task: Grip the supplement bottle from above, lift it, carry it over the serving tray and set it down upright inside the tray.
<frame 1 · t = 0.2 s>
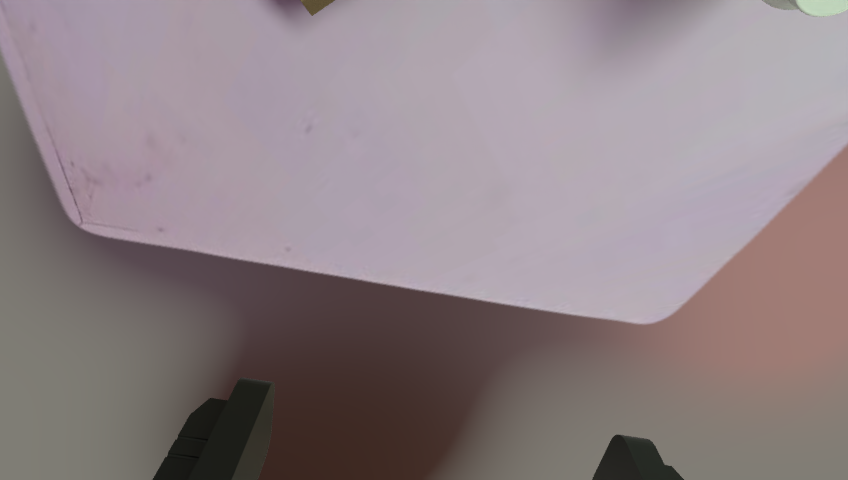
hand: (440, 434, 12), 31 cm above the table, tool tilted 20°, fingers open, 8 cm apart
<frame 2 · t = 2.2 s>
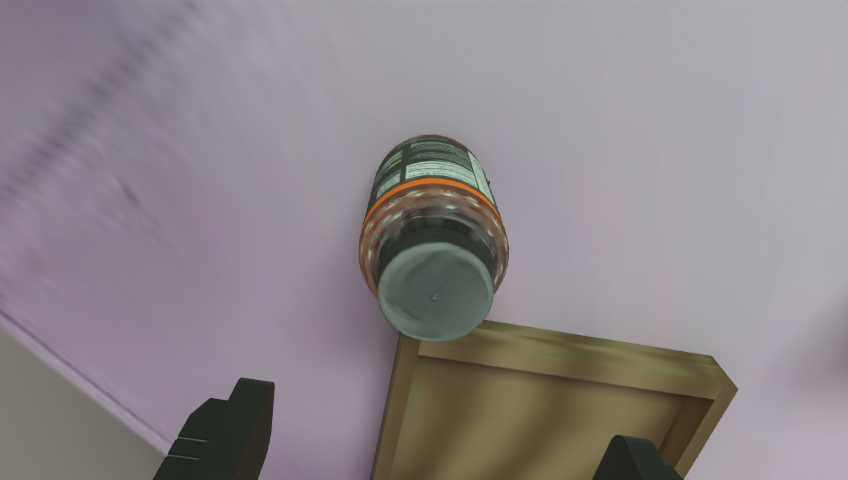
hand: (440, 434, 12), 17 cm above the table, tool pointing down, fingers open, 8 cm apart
serving tray: (527, 424, 35), on the table
supplement bottle: (430, 184, 27), on the table
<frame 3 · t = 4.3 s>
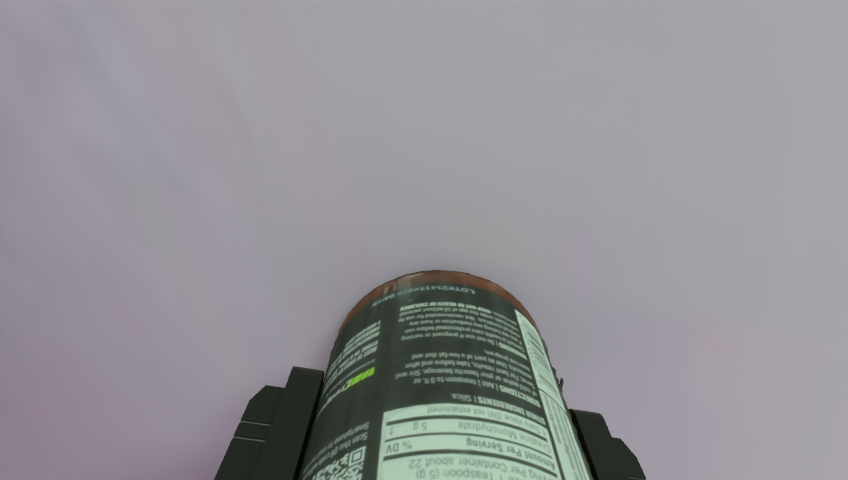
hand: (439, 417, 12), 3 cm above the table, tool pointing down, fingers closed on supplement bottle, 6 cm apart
supplement bottle: (438, 345, 15), on the table, touching gripper
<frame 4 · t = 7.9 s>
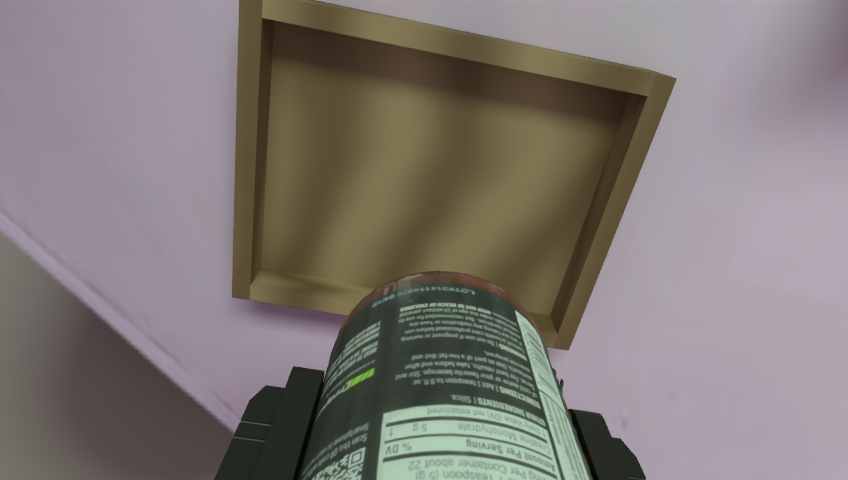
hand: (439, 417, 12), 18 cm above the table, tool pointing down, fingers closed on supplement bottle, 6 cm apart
serving tray: (430, 180, 28), on the table
supplement bottle: (438, 346, 15), point 15 cm above the table, touching gripper
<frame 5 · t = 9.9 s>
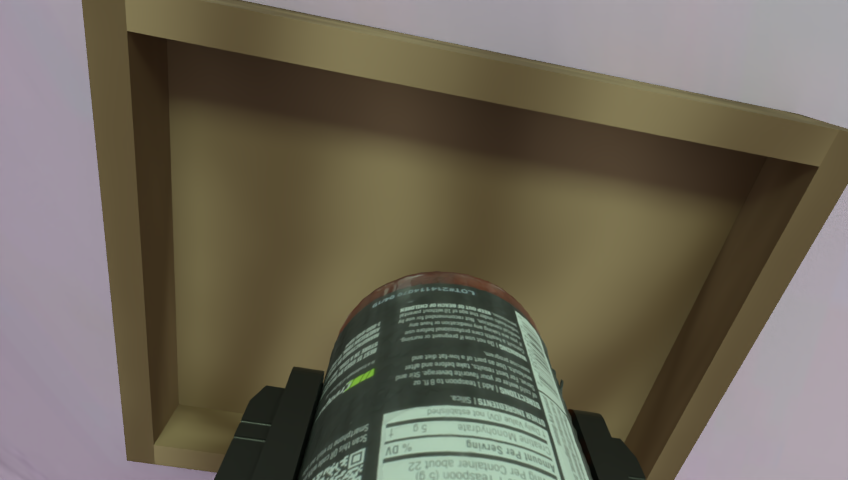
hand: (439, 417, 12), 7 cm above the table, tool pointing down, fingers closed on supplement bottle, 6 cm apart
serving tray: (435, 278, 18), on the table
supplement bottle: (438, 347, 15), point 4 cm above the table, touching gripper
when the fingers open (5 cm above the table, at t = 11.3 s): supplement bottle drops 1 cm, resting on serving tray.
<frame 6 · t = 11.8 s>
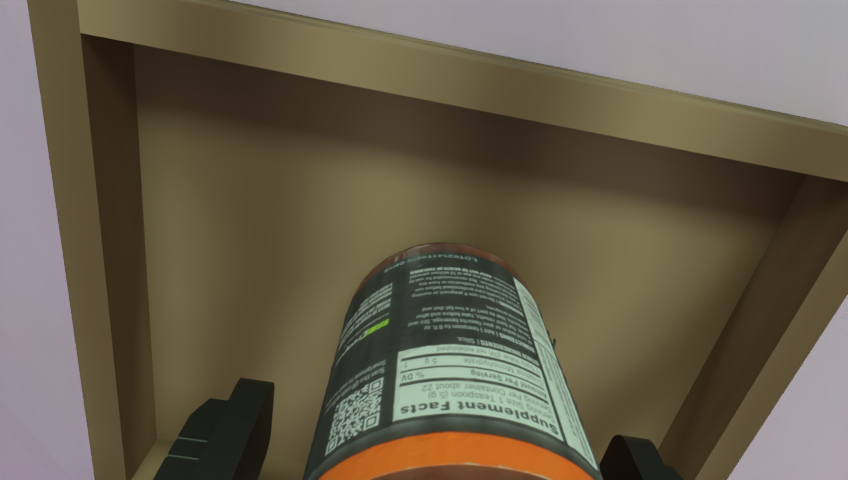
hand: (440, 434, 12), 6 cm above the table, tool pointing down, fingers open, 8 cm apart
serving tray: (436, 303, 17), on the table
supplement bottle: (442, 315, 16), point 1 cm above the table, touching serving tray
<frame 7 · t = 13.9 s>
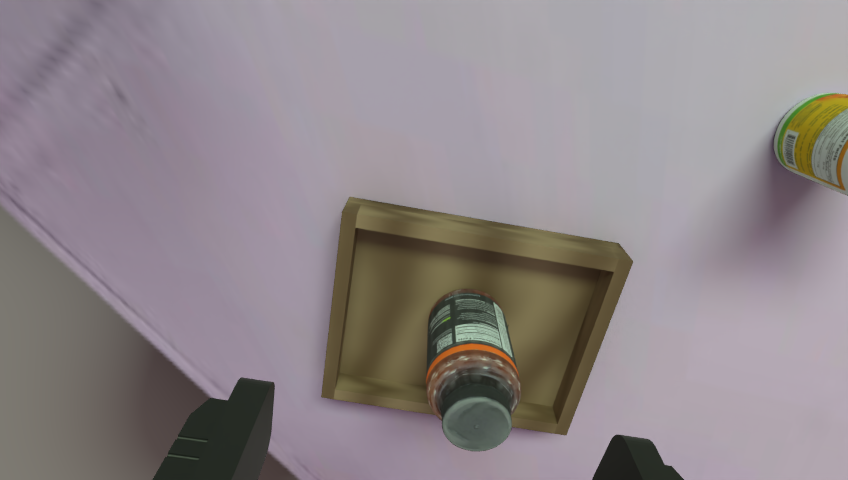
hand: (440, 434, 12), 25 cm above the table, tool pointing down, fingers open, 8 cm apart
supplement bottle 2: (811, 132, 33), on the table
serving tray: (463, 312, 39), on the table
supplement bottle: (466, 317, 39), point 1 cm above the table, touching serving tray
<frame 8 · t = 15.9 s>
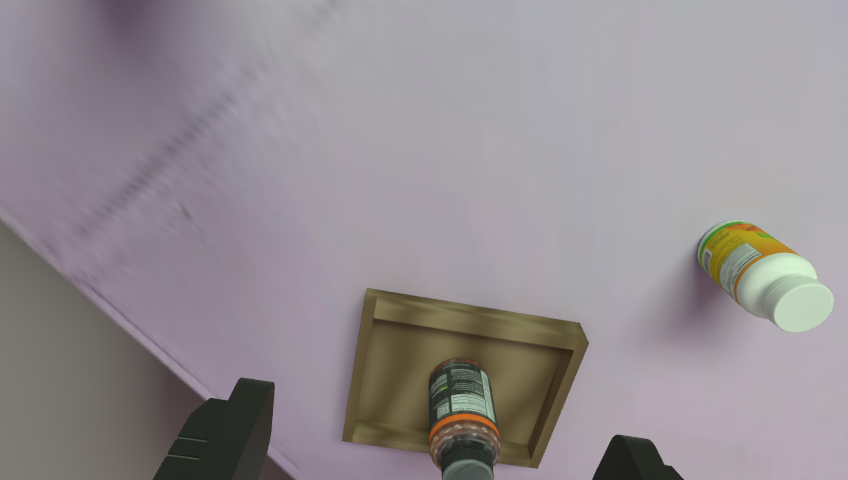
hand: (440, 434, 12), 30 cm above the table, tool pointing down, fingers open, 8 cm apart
supplement bottle 2: (726, 245, 43), on the table
serving tray: (456, 373, 49), on the table
supplement bottle: (458, 377, 48), point 1 cm above the table, touching serving tray
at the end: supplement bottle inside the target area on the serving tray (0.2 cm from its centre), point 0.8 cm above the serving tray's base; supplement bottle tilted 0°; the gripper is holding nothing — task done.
